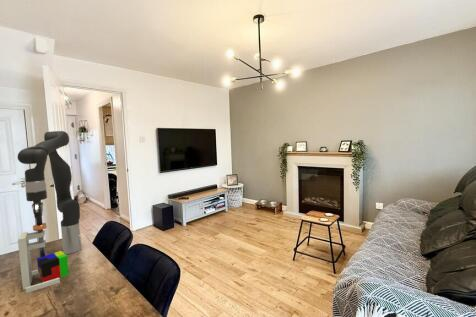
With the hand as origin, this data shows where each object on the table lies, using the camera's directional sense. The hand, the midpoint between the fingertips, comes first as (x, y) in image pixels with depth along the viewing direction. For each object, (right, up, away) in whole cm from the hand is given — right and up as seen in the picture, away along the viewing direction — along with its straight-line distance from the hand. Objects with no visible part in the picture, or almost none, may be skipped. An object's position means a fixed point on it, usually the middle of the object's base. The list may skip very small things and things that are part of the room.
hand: (39, 224), depth 112 cm
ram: (+1, -16, +1) cm, 16 cm away
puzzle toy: (+4, -28, +4) cm, 28 cm away
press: (+1, -28, +2) cm, 28 cm away
